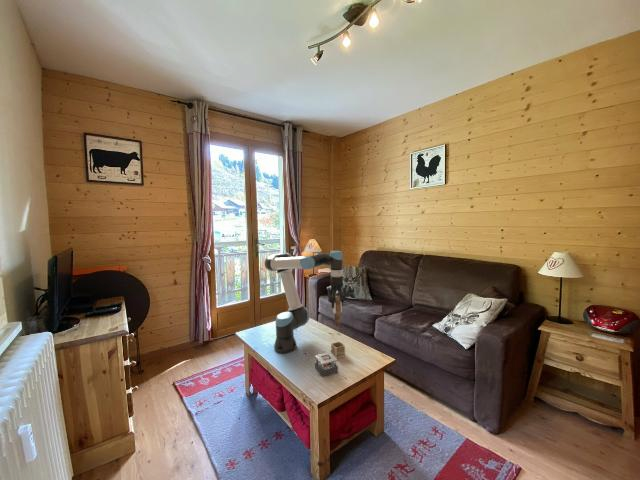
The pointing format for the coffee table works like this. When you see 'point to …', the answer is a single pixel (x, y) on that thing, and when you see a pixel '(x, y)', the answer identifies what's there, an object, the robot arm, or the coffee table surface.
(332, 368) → the grey button box
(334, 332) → the coffee table surface
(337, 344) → the pen cup
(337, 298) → the brown wooden rod
